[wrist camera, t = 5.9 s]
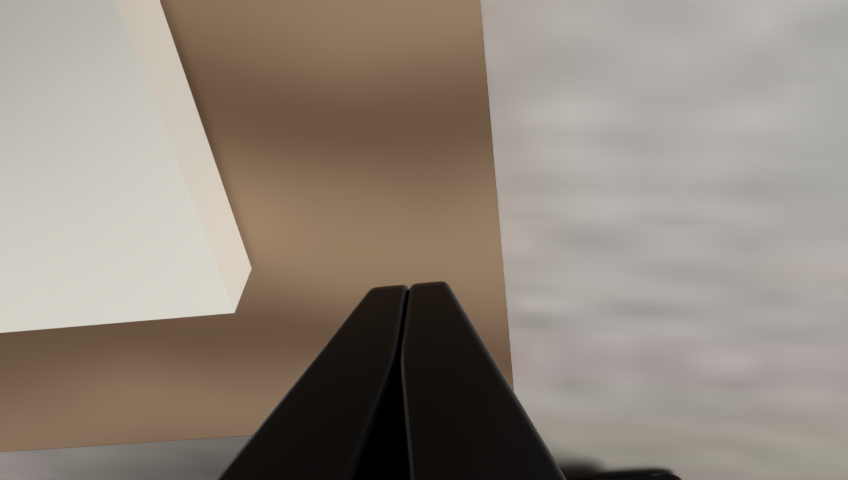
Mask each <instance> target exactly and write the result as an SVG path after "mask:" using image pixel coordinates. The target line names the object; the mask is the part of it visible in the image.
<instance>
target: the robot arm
mask: <svg viewBox="0 0 848 480" xmlns="http://www.w3.org/2000/svg"><path fill="white" fill-rule="evenodd" d="M217 480H566V478H565V476H564V475H563V473H562V471H561V470H560V468H559V466H558V465H557V463H556V461H555V460H554V458H553V456H552V455H551V453H550V451H549V450H548V448H547V446H546V445H545V443H544V441H543V440H542V438H541V437H540V435H539V433H538V432H537V430H536V428H535V427H534V425H533V423H532V422H531V420H530V418H529V417H528V415H527V413H526V412H525V410H524V408H523V407H522V405H521V403H520V402H519V400H518V398H517V397H516V395H515V393H514V392H513V390H512V388H511V387H510V385H509V383H508V382H507V380H506V378H505V377H504V375H503V374H502V372H501V370H500V369H499V367H498V365H497V364H496V362H495V360H494V359H493V357H492V355H491V354H490V352H489V350H488V349H487V347H486V345H485V344H484V342H483V340H482V339H481V337H480V335H479V334H478V332H477V330H476V329H475V327H474V325H473V324H472V322H471V320H470V319H469V317H468V315H467V314H466V312H465V311H464V309H463V307H462V306H461V304H460V302H459V301H458V299H457V297H456V296H455V294H454V292H453V291H452V289H451V287H450V286H449V285H448V284H447V283H446V282H444V281H437V282H426V283H416V284H413V285H412V286H411V287H410V289H409V288H408V287H407V286H405V285H393V286H382V287H375V288H372V289H371V290H369V291H368V293H367V294H366V295H365V296H364V297H363V299H362V300H361V301H360V302H359V304H358V305H357V306H356V307H355V309H354V310H353V311H352V312H351V314H350V315H349V316H348V317H347V319H346V320H345V321H344V322H343V324H342V325H341V326H340V327H339V328H338V330H337V331H336V332H335V333H334V335H333V336H332V337H331V338H330V340H329V341H328V342H327V343H326V345H325V346H324V347H323V348H322V350H321V351H320V352H319V353H318V354H317V356H316V357H315V358H314V359H313V361H312V362H311V363H310V364H309V366H308V367H307V368H306V369H305V371H304V372H303V373H302V374H301V376H300V377H299V378H298V379H297V380H296V382H295V383H294V384H293V385H292V387H291V388H290V389H289V390H288V392H287V393H286V394H285V395H284V397H283V398H282V399H281V400H280V402H279V403H278V404H277V405H276V407H275V408H274V409H273V410H272V411H271V413H270V414H269V415H268V416H267V418H266V419H265V420H264V421H263V423H262V424H261V425H260V426H259V428H258V429H257V430H256V431H255V433H254V434H253V435H252V436H251V437H250V439H249V440H248V441H247V442H246V444H245V445H244V446H243V447H242V449H241V450H240V451H239V452H238V454H237V455H236V456H235V457H234V459H233V460H232V461H231V462H230V463H229V465H228V466H227V467H226V468H225V470H224V471H223V472H222V473H221V475H220V476H219V477H218V478H217ZM588 480H682V479H680V478H679V477H677V476H675V475H658V476H640V477H623V478H605V479H588Z"/></svg>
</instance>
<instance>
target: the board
mask: <svg viewBox="0 0 848 480" xmlns="http://www.w3.org/2000/svg"><path fill="white" fill-rule="evenodd" d="M160 3H161V6H162V9H163V12H164V15H165V18H166V20H167V23H168V26H169V29H170V32H171V35H172V38H173V41H174V44H175V47H176V50H177V53H178V55H179V58H180V61H181V64H182V67H183V70H184V73H185V76H186V79H187V82H188V85H189V87H190V90H191V93H192V96H193V99H194V102H195V105H196V108H197V111H198V114H199V117H200V119H201V122H202V125H203V128H204V131H205V134H206V137H207V140H208V143H209V146H210V149H211V152H212V154H213V157H214V160H215V163H216V166H217V169H218V172H219V175H220V178H221V181H222V184H223V186H224V189H225V192H226V195H227V198H228V201H229V204H230V207H231V210H232V213H233V216H234V219H235V221H236V224H237V227H238V230H239V233H240V236H241V239H242V242H243V245H244V248H245V251H246V253H247V256H248V259H249V262H250V265H251V268H252V269H251V271H250V274H249V276H248V279H247V282H246V284H245V287H244V289H243V292H242V295H241V297H240V300H239V302H238V305H237V308H236V310H235V313H228V314H217V315H205V316H193V317H181V318H170V319H158V320H146V321H134V322H123V323H111V324H99V325H87V326H76V327H64V328H52V329H41V330H29V331H17V332H5V333H0V452H11V451H26V450H41V449H56V448H71V447H86V446H100V445H115V444H130V443H145V442H160V441H175V440H190V439H205V438H220V437H235V436H250V435H253V434H254V433H255V431H256V430H257V429H258V428H259V426H260V425H261V424H262V423H263V421H264V420H265V419H266V418H267V416H268V415H269V414H270V413H271V411H272V410H273V409H274V408H275V407H276V405H277V404H278V403H279V402H280V400H281V399H282V398H283V397H284V395H285V394H286V393H287V392H288V390H289V389H290V388H291V387H292V385H293V384H294V383H295V382H296V380H297V379H298V378H299V377H300V376H301V374H302V373H303V372H304V371H305V369H306V368H307V367H308V366H309V364H310V363H311V362H312V361H313V359H314V358H315V357H316V356H317V354H318V353H319V352H320V351H321V350H322V348H323V347H324V346H325V345H326V343H327V342H328V341H329V340H330V338H331V337H332V336H333V335H334V333H335V332H336V331H337V330H338V328H339V327H340V326H341V325H342V324H343V322H344V321H345V320H346V319H347V317H348V316H349V315H350V314H351V312H352V311H353V310H354V309H355V307H356V306H357V305H358V304H359V302H360V301H361V300H362V299H363V297H364V296H365V295H366V294H367V293H368V291H369V290H371V289H372V288H375V287H382V286H393V285H405V286H407V287H408V288H409V289H410V287H411V286H412V285H413V284H416V283H426V282H437V281H444V282H446V283H447V284H448V285H449V286H450V287H451V289H452V291H453V292H454V294H455V296H456V297H457V299H458V301H459V302H460V304H461V306H462V307H463V309H464V311H465V312H466V314H467V315H468V317H469V319H470V320H471V322H472V324H473V325H474V327H475V329H476V330H477V332H478V334H479V335H480V337H481V339H482V340H483V342H484V344H485V345H486V347H487V349H488V350H489V352H490V354H491V355H492V357H493V359H494V360H495V362H496V364H497V365H498V367H499V369H500V370H501V372H502V374H503V375H504V377H505V378H506V380H507V382H508V383H509V385H510V387H511V388H512V390H513V392H514V388H513V377H512V365H511V353H510V342H509V330H508V318H507V307H506V295H505V284H504V272H503V260H502V249H501V237H500V226H499V214H498V202H497V191H496V179H495V168H494V156H493V144H492V133H491V121H490V109H489V98H488V86H487V75H486V63H485V51H484V40H483V28H482V17H481V5H480V0H160Z"/></svg>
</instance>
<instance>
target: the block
mask: <svg viewBox="0 0 848 480" xmlns="http://www.w3.org/2000/svg"><path fill="white" fill-rule="evenodd" d="M251 269H252V268H251V265H250V262H249V259H248V256H247V253H246V251H245V248H244V245H243V242H242V239H241V236H240V233H239V230H238V227H237V224H236V221H235V219H234V216H233V213H232V210H231V207H230V204H229V201H228V198H227V195H226V192H225V189H224V186H223V184H222V181H221V178H220V175H219V172H218V169H217V166H216V163H215V160H214V157H213V154H212V152H211V149H210V146H209V143H208V140H207V137H206V134H205V131H204V128H203V125H202V122H201V119H200V117H199V114H198V111H197V108H196V105H195V102H194V99H193V96H192V93H191V90H190V87H189V85H188V82H187V79H186V76H185V73H184V70H183V67H182V64H181V61H180V58H179V55H178V53H177V50H176V47H175V44H174V41H173V38H172V35H171V32H170V29H169V26H168V23H167V20H166V18H165V15H164V12H163V9H162V6H161V3H160V0H0V333H5V332H17V331H29V330H41V329H52V328H64V327H76V326H87V325H99V324H111V323H123V322H134V321H146V320H158V319H170V318H181V317H193V316H205V315H217V314H228V313H235V310H236V308H237V305H238V302H239V300H240V297H241V295H242V292H243V289H244V287H245V284H246V282H247V279H248V276H249V274H250V271H251Z"/></svg>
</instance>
